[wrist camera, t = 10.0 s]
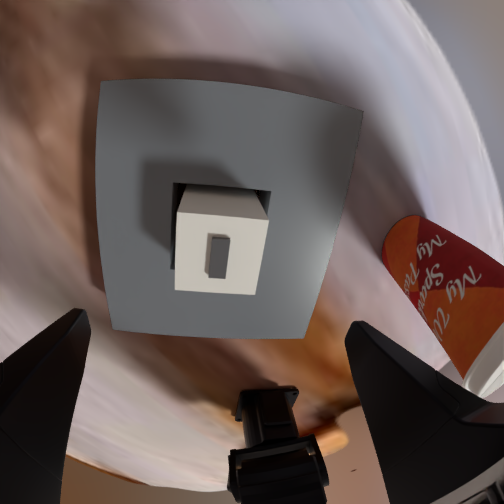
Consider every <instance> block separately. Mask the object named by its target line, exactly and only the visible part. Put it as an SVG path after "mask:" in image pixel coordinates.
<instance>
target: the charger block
mask: <svg viewBox="0 0 504 504" xmlns="http://www.w3.org/2000/svg"><path fill="white" fill-rule="evenodd" d="M268 224H269V219H268V217H267V215H266V213H265V211H264V209H263V207H262V205H261V203H260V201H259V199H258V197H257V195H256V193H255V192H254V190H253V189H247V188H237V187H227V186H215V185H203V184H189V183H187V186H186V189H185V191H184V194H183V197H182V200H181V203H180V205H179V208H178V211H177V224H176V249H175V290H183V291H197V292H212V293H228V294H247V295H255V292H256V287H257V282H258V277H259V271H260V266H261V261H262V256H263V250H264V245H265V240H266V235H267V229H268Z"/></svg>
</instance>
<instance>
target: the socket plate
mask: <svg viewBox="0 0 504 504" xmlns="http://www.w3.org/2000/svg"><path fill="white" fill-rule="evenodd" d="M363 112H364V111H361V110H358V109H354V108H351V107H348V106H344V105H341V104H337V103H333V102H330V101H326V100H322V99H318V98H314V97H309V96H305V95H300V94H296V93H291V92H286V91H281V90H275V89H269V88H263V87H257V86H250V85H243V84H235V83H226V82H216V81H203V80H187V79H124V80H108V81H101V86H100V95H99V104H98V116H97V130H96V158H95V181H96V209H97V225H98V237H99V247H100V256H101V264H102V271H103V278H104V285H105V291H106V297H107V303H108V308H109V313H110V318H111V323H112V328H113V330H121V331H129V332H139V333H149V334H160V335H173V336H188V337H206V338H235V339H295V338H304V336H305V333H306V330H307V327H308V324H309V321H310V318H311V316H312V313H313V310H314V307H315V303H316V300H317V297H318V294H319V291H320V288H321V285H322V281H323V278H324V275H325V272H326V268H327V265H328V261H329V258H330V255H331V251H332V248H333V244H334V240H335V237H336V233H337V229H338V226H339V222H340V218H341V214H342V210H343V206H344V202H345V198H346V194H347V190H348V186H349V181H350V177H351V172H352V168H353V163H354V159H355V154H356V149H357V144H358V139H359V134H360V129H361V123H362V118H363ZM178 183H189V184H203V185H215V186H227V187H237V188H247V189H257V190H260V197H259V201H260V203H261V205H262V207H263V209H264V211H265V213H266V215H267V217H268V219H269V224H268V229H267V235H266V240H265V245H264V250H263V256H262V261H261V266H260V271H259V277H258V282H257V287H256V292H255V295H247V294H228V293H212V292H197V291H183V290H175V249H176V219H177V199H178Z"/></svg>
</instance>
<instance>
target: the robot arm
mask: <svg viewBox="0 0 504 504" xmlns="http://www.w3.org/2000/svg"><path fill="white" fill-rule="evenodd" d="M90 336H91V328H90V324H89V320H88V316H87V313H86V311H85V310H84V309H79V308H73V309H72V310H70V311H69V312H68V313H66V314H65V315H63V316H62V317H61V318H59V319H58V320H56V321H55V322H54V323H52V324H51V325H50V326H48V327H47V328H45V329H44V330H43V331H41V332H40V333H39V334H37V335H36V336H35V337H33V338H32V339H31V340H29V341H28V342H27V343H25V344H24V345H23V346H22V347H20V348H19V349H18V350H16V351H15V352H14V353H13V354H11V355H10V356H9V357H7V358H6V359H5V360H4V361H3V362H1V363H0V504H60V496H61V485H62V481H61V480H62V475H63V467H64V461H65V455H66V449H67V443H68V437H69V432H70V427H71V423H72V418H73V413H74V409H75V405H76V401H77V397H78V393H79V389H80V385H81V381H82V378H83V374H84V368H85V363H86V357H87V351H88V346H89V341H90ZM345 347H346V352H347V356H348V360H349V364H350V369H351V373H352V377H353V381H354V384H355V387H356V390H357V393H358V396H359V399H360V402H361V405H362V408H363V411H364V414H365V418H366V421H367V424H368V427H369V430H370V433H371V437H372V440H373V443H374V447H375V450H376V454H377V457H378V460H379V464H380V468H381V471H382V474H383V479H384V482H385V487H386V490H387V494H388V498H389V502H390V504H504V403H492V402H489V401H486V400H484V399H482V398H480V397H479V396H477V395H475V394H473V393H472V392H470V391H468V390H466V389H465V388H463V387H461V386H460V385H458V384H456V383H454V382H453V381H452V380H450V379H448V378H447V377H445V376H444V375H442V374H441V373H440V372H438V371H437V370H436V371H435V369H434V368H432V367H431V366H429V365H428V364H426V363H425V362H424V361H422V360H421V359H419V358H418V357H416V356H415V355H413V354H412V353H410V352H409V351H407V350H406V349H405V348H403V347H402V346H400V345H399V344H397V343H396V342H394V341H393V340H391V339H390V338H388V337H387V336H386V335H384V334H383V333H381V332H380V331H378V330H377V329H375V328H374V327H372V326H371V325H369V324H368V323H366V322H365V321H354V322H352V324H351V326H350V328H349V330H348V332H347V335H346V337H345ZM298 394H299V390H298V389H296V388H295V389H280V390H257V391H242V392H240V395H239V400H238V405H237V409H236V414H235V421H238V422H243V430H244V437H245V444H246V448H245V449H238V450H236V449H232V450H230V455H229V456H228V461H229V475H228V483H227V489H228V491H230V492H231V493H232V494H233V496H234V498H235V500H236V502H237V503H241V504H326V502H327V499H326V495H325V491H324V487H325V486H328V485H329V478H328V473H327V469H326V466H325V463H324V460H323V457H322V454H321V451H320V449H319V446H318V443H317V441H316V438H315V435H314V433H313V434H309V435H308V436H304V437H300V436H299V433H298V429H297V425H296V422H295V418H294V414H293V410H292V407H293V405H294V403H295V401H296V399H297V397H298ZM309 453H310V455H309Z"/></svg>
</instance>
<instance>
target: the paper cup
mask: <svg viewBox="0 0 504 504" xmlns="http://www.w3.org/2000/svg"><path fill="white" fill-rule="evenodd" d="M382 260H383V263H384V265H385V267H386V269H387V270H388V271H389V273H390V274H391V276H392V277H393V278H394V280H395V281H396V282H397V284H398V285H399V286H400V288H401V289H402V290H403V292H404V293H405V294H406V296H407V297H408V298H409V300H410V301H411V302H412V304H413V305H414V306H415V308H416V309H417V311H418V312H419V313H420V315H421V316H422V318H423V319H424V320H425V322H426V323H427V325H428V326H429V328H430V329H431V330H432V332H433V333H434V335H435V336H436V338H437V339H438V341H439V342H440V344H441V345H442V347H443V348H444V350H445V351H446V353H447V354H448V356H449V357H450V359H451V361H452V362H453V364H454V365H455V367H456V368H457V370H458V372H459V373H460V375H461V377H462V378H463V383H462V387H463V388H465V389H466V390H468V391H471V392H472V393H473V394H475V395H477V396H479V397H480V398H484V397H486V396H488V395H490V394H491V393H493V392H494V391H495V390H496V389H498V388H499V387H500V386H501V385H503V384H504V266H503V265H502V264H500V263H499V262H497V261H496V260H495V259H493V258H492V257H490V256H489V255H487V254H486V253H484V252H483V251H481V250H480V249H478V248H477V247H475V246H474V245H472V244H470V243H469V242H467V241H465V240H463V239H462V238H460V237H458V236H456V235H455V234H453V233H451V232H450V231H448V230H446V229H444V228H443V227H441V226H439V225H437V224H435V223H434V222H432V221H430V220H428V219H426V218H423V217H421V216H417V215H411V216H407V217H405V218H403V219H401V220H400V221H398V222H397V223H396V224H395V225H394V226H393V227H392V228H391V230H390V231H389V233H388V234H387V236H386V238H385V241H384V243H383V247H382Z"/></svg>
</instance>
